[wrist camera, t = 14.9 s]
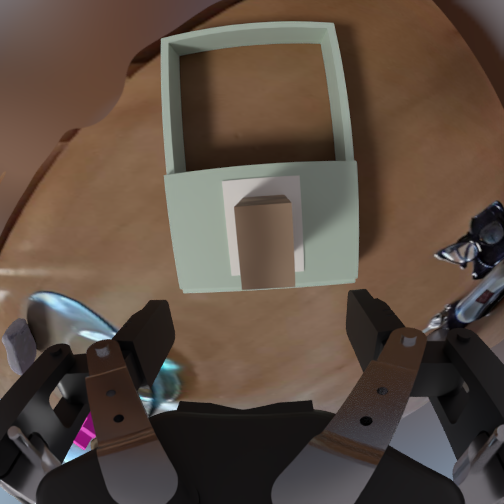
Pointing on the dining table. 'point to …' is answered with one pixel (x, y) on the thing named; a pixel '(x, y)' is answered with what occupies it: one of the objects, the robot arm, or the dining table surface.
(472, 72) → the dining table surface
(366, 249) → the dining table surface
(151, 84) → the dining table surface
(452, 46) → the dining table surface
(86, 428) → the toy block
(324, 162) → the box
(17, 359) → the stone block
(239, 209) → the wood block
